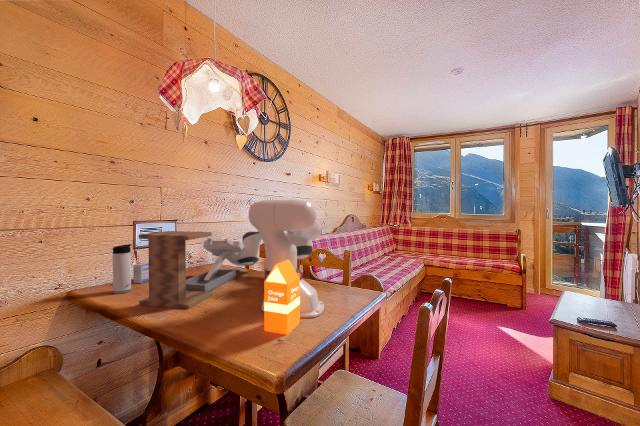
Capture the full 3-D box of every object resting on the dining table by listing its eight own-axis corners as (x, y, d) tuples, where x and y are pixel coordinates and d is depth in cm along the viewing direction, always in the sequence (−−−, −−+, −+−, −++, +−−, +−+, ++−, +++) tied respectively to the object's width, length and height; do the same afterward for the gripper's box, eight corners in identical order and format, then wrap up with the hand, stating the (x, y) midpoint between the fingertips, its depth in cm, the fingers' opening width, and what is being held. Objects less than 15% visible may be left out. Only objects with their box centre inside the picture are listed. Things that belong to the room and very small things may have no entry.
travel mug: (132, 292, 118) (131, 244, 117) (112, 294, 114) (112, 246, 114) (132, 288, 123) (131, 243, 122) (113, 290, 119) (112, 244, 119)
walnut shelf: (212, 295, 114) (211, 232, 113) (188, 308, 99) (188, 235, 98) (168, 292, 117) (167, 231, 116) (139, 305, 102) (138, 234, 102)
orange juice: (300, 322, 88) (300, 259, 87) (287, 335, 80) (287, 265, 79) (278, 319, 90) (278, 258, 90) (263, 330, 82) (263, 263, 82)
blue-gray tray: (235, 277, 143) (235, 270, 143) (205, 294, 115) (205, 285, 115) (213, 276, 145) (213, 268, 145) (177, 292, 118) (177, 283, 117)
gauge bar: (230, 249, 145) (228, 246, 144) (210, 283, 128) (208, 280, 127) (225, 249, 146) (224, 246, 145) (205, 283, 129) (203, 279, 127)
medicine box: (141, 283, 131) (141, 265, 130) (133, 283, 131) (133, 264, 131) (154, 279, 138) (154, 261, 138) (146, 278, 139) (146, 261, 139)
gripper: (246, 256, 145) (235, 246, 133) (210, 255, 148) (196, 245, 136) (248, 245, 148) (238, 234, 136) (213, 244, 151) (200, 233, 139)
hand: (217, 239), depth 136 cm, fingers open, 8 cm apart
